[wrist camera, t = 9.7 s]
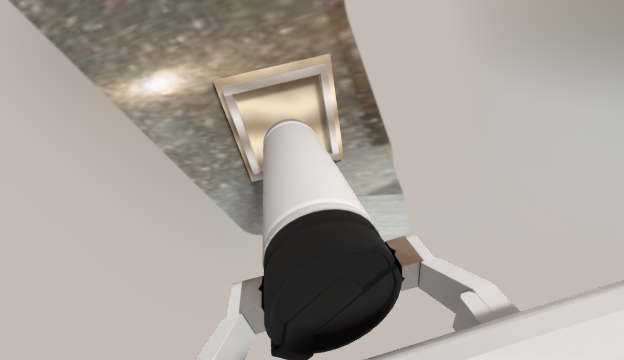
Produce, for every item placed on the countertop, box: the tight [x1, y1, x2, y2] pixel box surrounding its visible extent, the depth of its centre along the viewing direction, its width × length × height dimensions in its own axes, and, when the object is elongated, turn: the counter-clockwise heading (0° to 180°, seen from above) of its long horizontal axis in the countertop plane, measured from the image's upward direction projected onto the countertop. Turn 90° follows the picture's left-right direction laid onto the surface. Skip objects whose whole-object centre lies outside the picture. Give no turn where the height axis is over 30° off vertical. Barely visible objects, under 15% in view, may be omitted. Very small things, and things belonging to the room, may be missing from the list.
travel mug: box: [263, 119, 402, 360], centre depth 18 cm, size 6×7×20 cm
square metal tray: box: [213, 54, 344, 182], centre depth 34 cm, size 16×16×2 cm
